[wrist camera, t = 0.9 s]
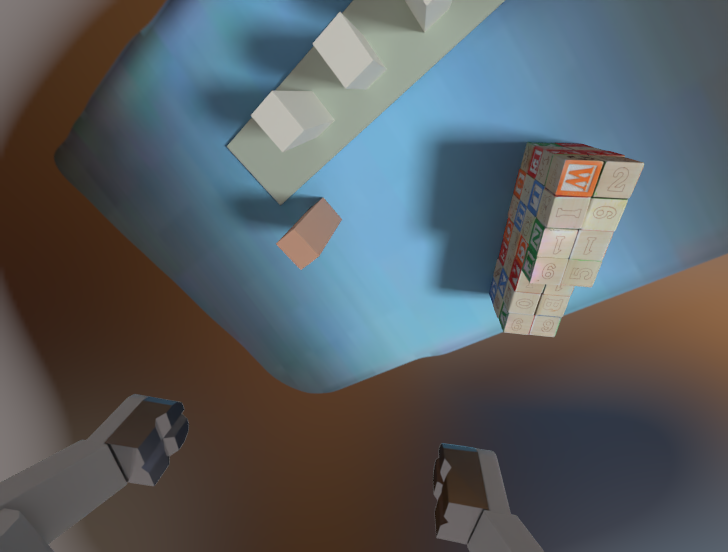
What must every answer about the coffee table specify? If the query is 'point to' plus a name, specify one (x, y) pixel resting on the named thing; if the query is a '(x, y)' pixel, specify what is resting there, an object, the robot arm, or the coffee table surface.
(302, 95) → the domino
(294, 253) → the domino
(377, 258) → the coffee table surface
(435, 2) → the domino
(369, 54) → the domino
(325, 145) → the mat
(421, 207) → the coffee table surface
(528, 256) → the stack of blocks
